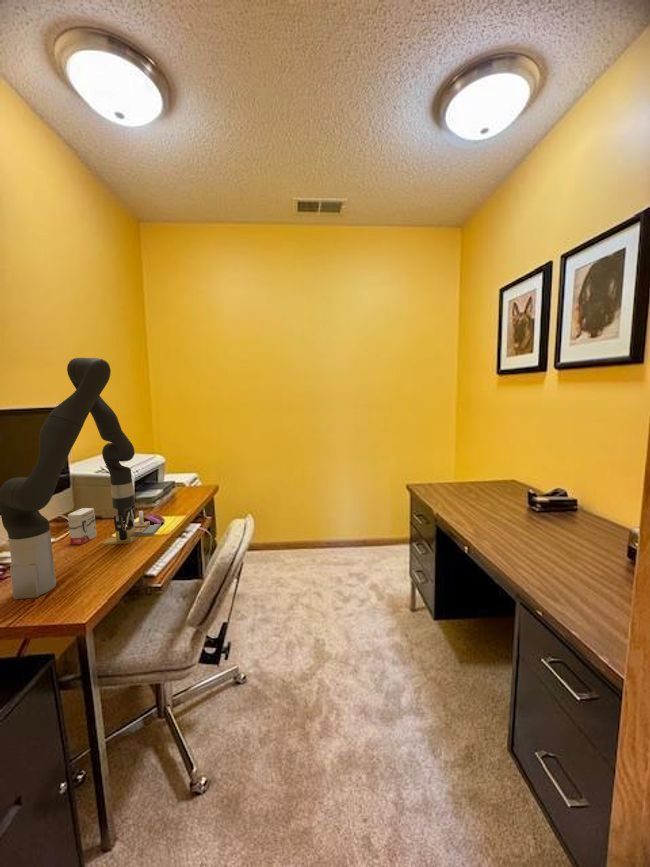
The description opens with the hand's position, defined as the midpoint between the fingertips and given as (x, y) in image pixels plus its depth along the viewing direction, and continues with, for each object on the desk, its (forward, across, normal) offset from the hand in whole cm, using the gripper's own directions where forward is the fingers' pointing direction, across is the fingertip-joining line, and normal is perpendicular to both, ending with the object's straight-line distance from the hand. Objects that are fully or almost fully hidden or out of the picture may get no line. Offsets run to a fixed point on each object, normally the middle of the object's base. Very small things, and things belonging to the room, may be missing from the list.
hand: (127, 535), depth 139 cm
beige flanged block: (+2, -1, +3) cm, 3 cm away
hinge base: (+2, +10, -2) cm, 11 cm away
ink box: (+2, +3, +17) cm, 18 cm away
